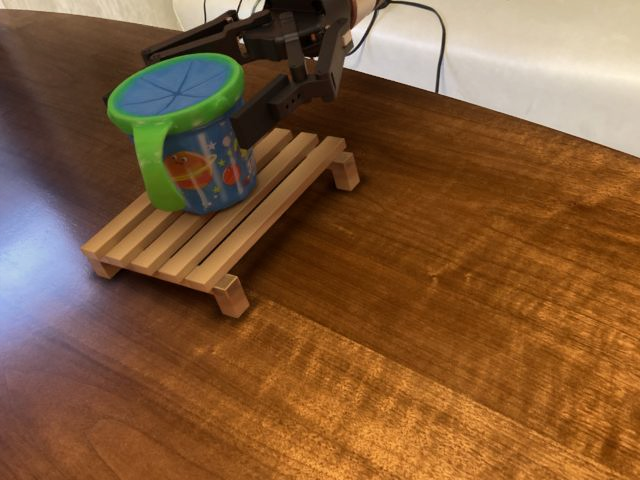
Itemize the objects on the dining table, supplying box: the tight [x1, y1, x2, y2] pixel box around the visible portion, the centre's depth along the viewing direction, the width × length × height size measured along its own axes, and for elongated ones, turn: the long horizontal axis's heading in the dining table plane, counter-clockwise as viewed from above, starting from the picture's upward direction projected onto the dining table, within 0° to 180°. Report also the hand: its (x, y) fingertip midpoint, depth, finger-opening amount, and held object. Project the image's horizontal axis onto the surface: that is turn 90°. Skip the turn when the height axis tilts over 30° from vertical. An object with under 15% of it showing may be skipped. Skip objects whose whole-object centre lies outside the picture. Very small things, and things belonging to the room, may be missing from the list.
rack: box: [79, 127, 361, 319], centre depth 68 cm, size 16×20×4 cm
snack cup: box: [106, 53, 258, 215], centre depth 63 cm, size 16×10×10 cm
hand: (171, 123), depth 60 cm, fingers open, 13 cm apart
